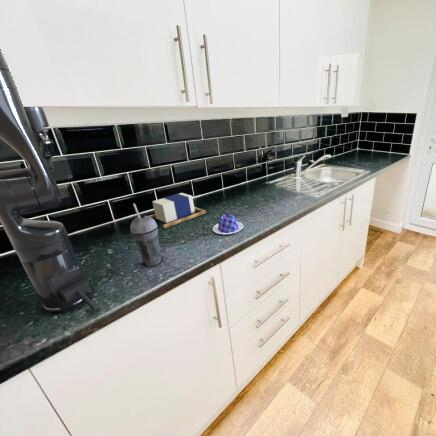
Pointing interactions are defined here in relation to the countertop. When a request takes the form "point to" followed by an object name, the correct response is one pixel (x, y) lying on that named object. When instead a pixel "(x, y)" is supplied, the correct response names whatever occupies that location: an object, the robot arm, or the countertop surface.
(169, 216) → the eraser
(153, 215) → the oak frame
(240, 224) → the pudding
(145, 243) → the beverage cup
